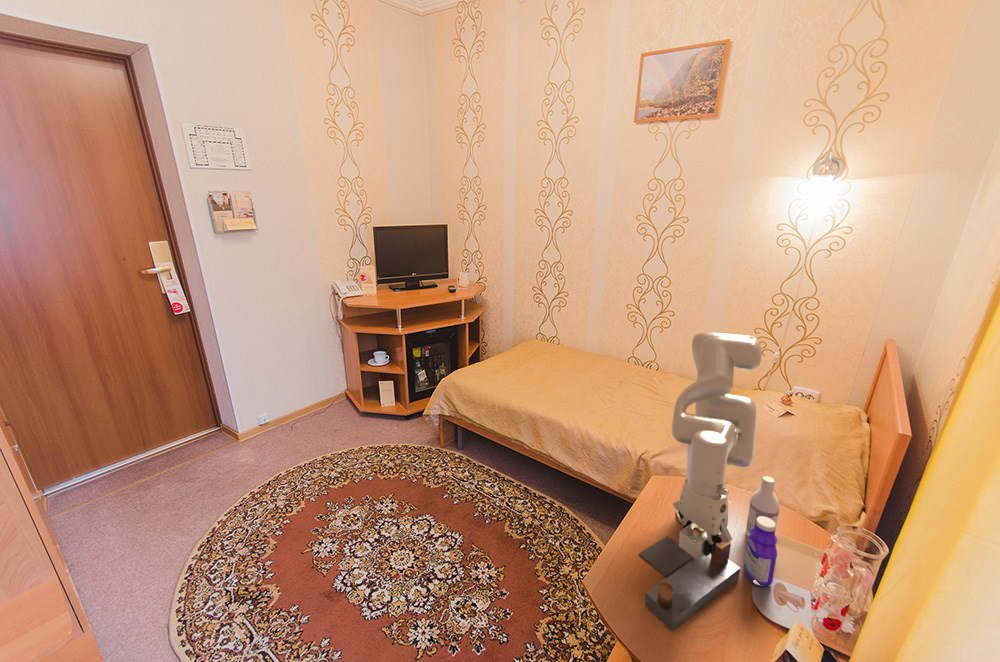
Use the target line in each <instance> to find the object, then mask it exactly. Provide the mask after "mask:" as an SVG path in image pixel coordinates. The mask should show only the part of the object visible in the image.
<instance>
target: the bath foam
mask: <svg viewBox="0 0 1000 662" xmlns="http://www.w3.org/2000/svg"><path fill="white" fill-rule="evenodd" d="M775 483H776V481H775V479H774V478H773V477H771V476H768V475H767V476H763V477H762V479H761V485H760V486H761V487H760V488H758V489H757V490H756V491H753V494H752V495H751V498H750V499H749V500H750V501H749V508H748V514H747V521H746V527H745V535H746V537H747V538H748V537H749V535H751V529H753V528H754V527H755V524H756V520H757V517H760V516H764V517H767V518H770V519H771V520H773V521H774V522H775V532H776V529H777V524H778V520H779V519H778V518H779V512H780V502H779V499H778V497H777V495H776V494H775V492H774V489H775Z"/></svg>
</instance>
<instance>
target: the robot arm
mask: <svg viewBox="0 0 1000 662" xmlns="http://www.w3.org/2000/svg"><path fill="white" fill-rule="evenodd" d="M691 350H692V357H693V361H694V366H695V367H696V368H695V369H696V373H697V376H696V380H695V381H694V382H693V383H690V384H689V385H688V386H686V387H685V388H684V389H683V391H681V392H680V394H679V395H678V397H677V398H676V401H675V405H674V408H673V414H672V421H671V436H672V437H673V439H674V440H675V442H678V443H680V444H683V445H684V444H685V445H686V470H685V480H684V483H683V485H682V488H681V492H680V496H679V499H678V500H676V501H674V502H673V503H672V505H673V507H674V508H675V510H676V517H677V520H678V521H679V523H680V524H681V525H682V529H684V528H685V527H687V526H688V525H690V524H691V523H694V524H696V525H697V526H699V527H700V528H702V529H703V530H705V531H706V534H707V541H706V542H705V548H704V555H705V556H708V555H709V554H713V553H714V552H715V549H716V543H720V542H727V543H728V542H731V541H733V538H732V535H731V534H730V531H729V530H728V522H729V501H728V495H729V490H728V489H726V487H725V485H726V483H725V481H726V480H725V479H726V472H727V465H728V466H731V467H737V468H744V469H746V468H749V467H751V466H752V465H753V463H754V458H755V451H756V449H755V448H756V447H755V446H756V432H757V405H756V403H755V401H754V400H753V399H752V398H750V397H748V396H745V395H739V394H732V393H730V392H732V390H733V389H734V377H735V376H734V374H735V373H734V372H735V369H737V370H745V371H755V370H757V369H758V368H759V367H760V365H761V362H762V354H763V353H762V348H761V343H760V342H759V340H758V338H757V337H755V336H753V335H748V334H747V335H745V334H735V333H726V332H725V333H724V332H715V331H714V332H712V331H710V332H709V331H708V332H707V331H706V332H700V333H697V334H695V335H694V336H693V337H692V341H691ZM693 404H694V405H695V406H694V413H695V414H694V413H689V412H686V411H687V409H688V408H689V407H690V406H691V405H693ZM719 530H720V531H719ZM718 531H719V532H718Z"/></svg>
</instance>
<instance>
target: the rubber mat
mask: <svg viewBox="0 0 1000 662" xmlns="http://www.w3.org/2000/svg"><path fill="white" fill-rule="evenodd" d="M678 545H679V542H677V541H675V540H674V539H673V538H671V537H670V536H668V535H666V536H665V537H663V538H662V539H659V540H658V541H657V542H655V543H653V544H652V545H650V546H648V547H646V548H645V549H643V550H641V551H640V552H639V553H638V555H639V556H641V558H643V559H644V560H645V561H646V562H647V563H649V565H651V566H652V567H653V568H654V569H655V570H656V571H658V572H659V573H660V574H661V575H662V576H664V578H667V577H669V576H670V575H672V574H673V573H675V572H676V571H678V570H679V569H680V568H682V567H683V566H685V565H686V564H688V563H689V562H691V561H692V560H694V559H695V558H694V557H693V556H691V555H690V554H689V553H687V552H686V551H685V550H684V549H682V548H681V547H680V546H678Z"/></svg>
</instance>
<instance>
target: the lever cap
mask: <svg viewBox="0 0 1000 662" xmlns="http://www.w3.org/2000/svg"><path fill="white" fill-rule="evenodd" d="M718 532H719V533H720V530H719V531H718ZM678 537H679V538H678V544H679V545H678V546H680V547H681V548H682V549H684V550H685V551H686V552H687V553H689V554H690V555H691V556H693V557H694V558H693V559H699V558H700V557H702V556H703V555H704V548H705V542H706V541H707V534H706V531H705V530H703V529H702V528H700V527H699V526H697V525H696V524H694V523H691V524H690V525H688V526H687V527H685V528H684V529H683V528H682V529H681V530H679V536H678ZM717 545H718V543H716V546H717Z"/></svg>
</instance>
